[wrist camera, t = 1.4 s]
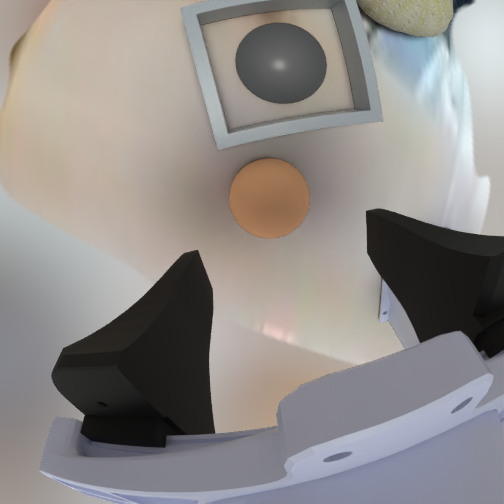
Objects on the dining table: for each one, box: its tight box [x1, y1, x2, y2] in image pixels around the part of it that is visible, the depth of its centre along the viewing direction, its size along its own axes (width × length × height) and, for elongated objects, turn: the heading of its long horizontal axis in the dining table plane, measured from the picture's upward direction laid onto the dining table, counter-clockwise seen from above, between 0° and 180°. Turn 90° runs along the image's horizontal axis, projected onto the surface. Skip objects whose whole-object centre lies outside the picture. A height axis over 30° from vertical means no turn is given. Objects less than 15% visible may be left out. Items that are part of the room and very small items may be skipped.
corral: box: [180, 0, 383, 150], centre depth 14 cm, size 10×11×2 cm
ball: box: [229, 158, 310, 238], centre depth 17 cm, size 5×5×5 cm
